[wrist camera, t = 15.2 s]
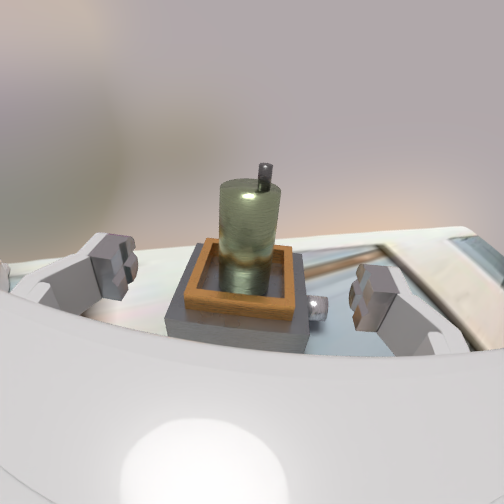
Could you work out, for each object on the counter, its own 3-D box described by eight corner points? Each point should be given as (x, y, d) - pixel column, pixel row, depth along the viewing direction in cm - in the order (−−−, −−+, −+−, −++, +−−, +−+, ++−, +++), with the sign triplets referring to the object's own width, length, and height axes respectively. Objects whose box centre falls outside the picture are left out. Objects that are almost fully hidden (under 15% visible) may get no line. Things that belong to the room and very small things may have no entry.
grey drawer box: (171, 354, 30) (161, 303, 25) (198, 278, 41) (196, 229, 37) (324, 370, 29) (345, 322, 25) (314, 290, 41) (326, 243, 36)
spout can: (214, 295, 30) (215, 169, 22) (223, 264, 34) (226, 154, 27) (267, 301, 29) (284, 176, 22) (269, 269, 34) (283, 159, 27)
